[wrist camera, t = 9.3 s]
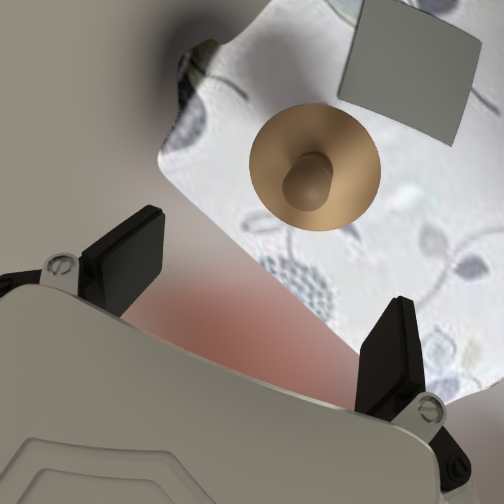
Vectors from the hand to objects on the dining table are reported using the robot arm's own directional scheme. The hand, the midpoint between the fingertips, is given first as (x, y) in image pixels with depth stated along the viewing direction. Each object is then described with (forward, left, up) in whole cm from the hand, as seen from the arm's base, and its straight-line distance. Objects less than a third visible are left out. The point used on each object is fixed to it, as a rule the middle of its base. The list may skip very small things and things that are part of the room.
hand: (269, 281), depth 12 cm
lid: (0, 0, -16) cm, 16 cm away
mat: (-7, -13, -26) cm, 30 cm away
